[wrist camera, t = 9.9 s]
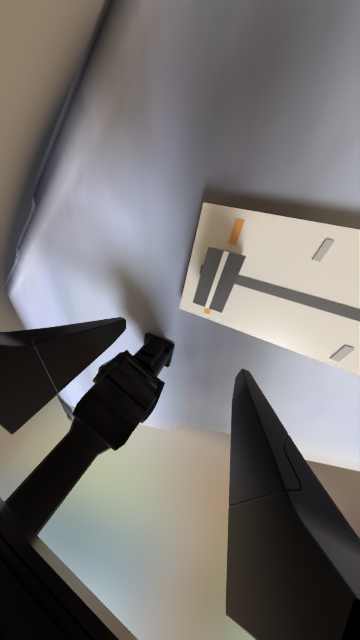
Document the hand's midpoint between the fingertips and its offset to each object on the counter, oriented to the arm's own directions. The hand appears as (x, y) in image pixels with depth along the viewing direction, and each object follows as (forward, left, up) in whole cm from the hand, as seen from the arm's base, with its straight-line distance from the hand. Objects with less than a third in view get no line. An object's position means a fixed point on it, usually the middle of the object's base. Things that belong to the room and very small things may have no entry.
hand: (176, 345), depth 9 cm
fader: (+4, -1, -9) cm, 10 cm away
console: (+4, -8, -12) cm, 15 cm away
